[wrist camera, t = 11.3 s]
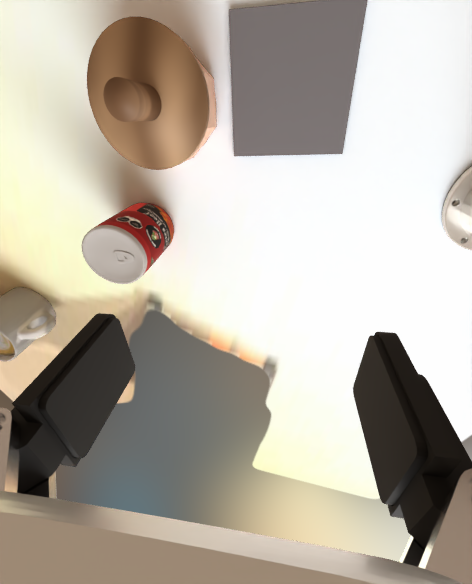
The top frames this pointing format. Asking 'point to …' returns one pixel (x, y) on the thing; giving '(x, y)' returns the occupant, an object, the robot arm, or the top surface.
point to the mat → (293, 76)
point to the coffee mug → (23, 320)
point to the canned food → (128, 243)
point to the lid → (148, 93)
